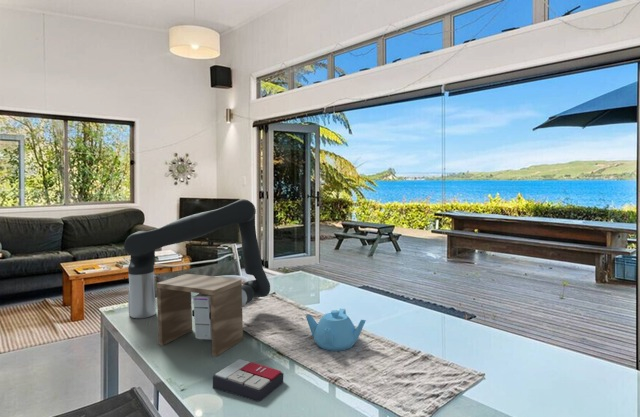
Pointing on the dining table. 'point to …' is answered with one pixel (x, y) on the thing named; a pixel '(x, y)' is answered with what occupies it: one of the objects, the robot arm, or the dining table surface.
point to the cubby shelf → (179, 310)
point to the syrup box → (202, 316)
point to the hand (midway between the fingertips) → (201, 314)
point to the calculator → (248, 380)
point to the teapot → (335, 330)
